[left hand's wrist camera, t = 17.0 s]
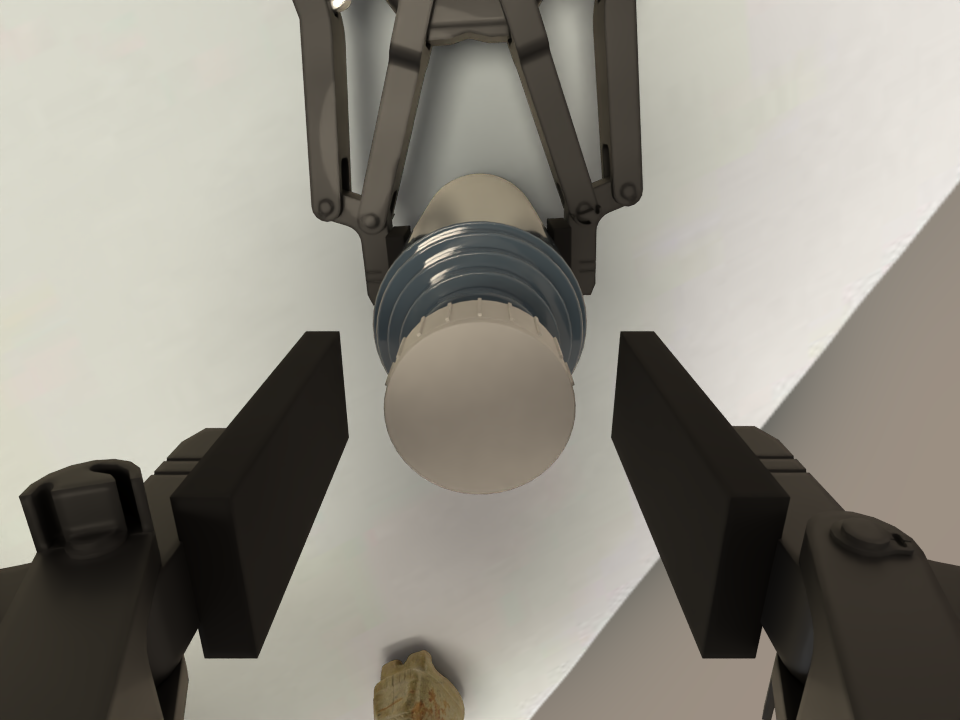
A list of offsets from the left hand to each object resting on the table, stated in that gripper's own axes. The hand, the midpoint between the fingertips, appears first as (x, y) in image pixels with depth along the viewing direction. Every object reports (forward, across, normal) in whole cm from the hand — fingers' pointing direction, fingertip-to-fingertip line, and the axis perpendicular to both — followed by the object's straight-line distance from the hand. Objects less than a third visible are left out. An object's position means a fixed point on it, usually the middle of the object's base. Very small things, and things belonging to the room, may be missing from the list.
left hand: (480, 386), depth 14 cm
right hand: (+14, 0, -5) cm, 15 cm away
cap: (-1, 0, 0) cm, 1 cm away
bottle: (+21, 0, 0) cm, 21 cm away
